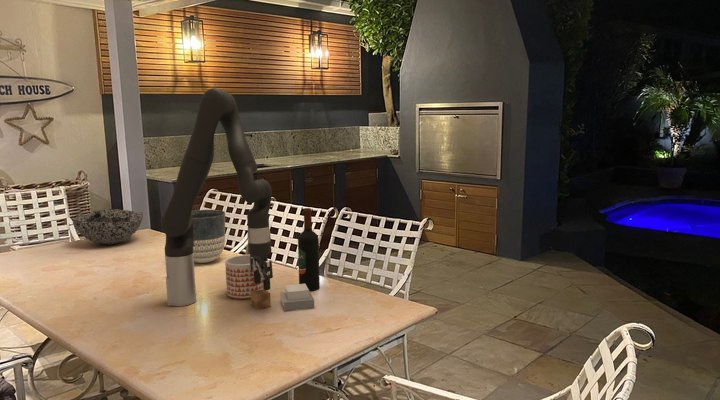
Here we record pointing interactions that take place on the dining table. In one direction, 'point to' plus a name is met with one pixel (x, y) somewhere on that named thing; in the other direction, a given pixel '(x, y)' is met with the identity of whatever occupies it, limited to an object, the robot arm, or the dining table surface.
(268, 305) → the walnut block
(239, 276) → the vase
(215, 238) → the planter
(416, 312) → the dining table surface
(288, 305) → the plinth
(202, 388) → the dining table surface
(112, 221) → the bowl
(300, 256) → the wine bottle
